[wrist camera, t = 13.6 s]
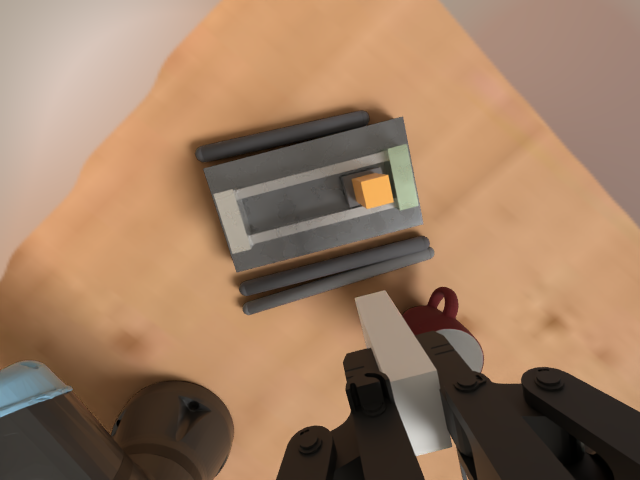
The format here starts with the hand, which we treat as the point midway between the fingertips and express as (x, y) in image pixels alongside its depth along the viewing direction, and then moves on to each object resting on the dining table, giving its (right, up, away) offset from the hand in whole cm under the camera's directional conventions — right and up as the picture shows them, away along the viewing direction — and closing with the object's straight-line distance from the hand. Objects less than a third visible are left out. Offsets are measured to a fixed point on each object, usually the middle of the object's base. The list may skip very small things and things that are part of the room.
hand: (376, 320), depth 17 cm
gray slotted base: (-3, +9, +25) cm, 27 cm away
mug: (+10, -6, +29) cm, 31 cm away
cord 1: (-7, +16, +23) cm, 29 cm away
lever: (+2, +10, +22) cm, 24 cm away
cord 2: (-1, -1, +27) cm, 27 cm away
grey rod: (-1, +1, +27) cm, 27 cm away
